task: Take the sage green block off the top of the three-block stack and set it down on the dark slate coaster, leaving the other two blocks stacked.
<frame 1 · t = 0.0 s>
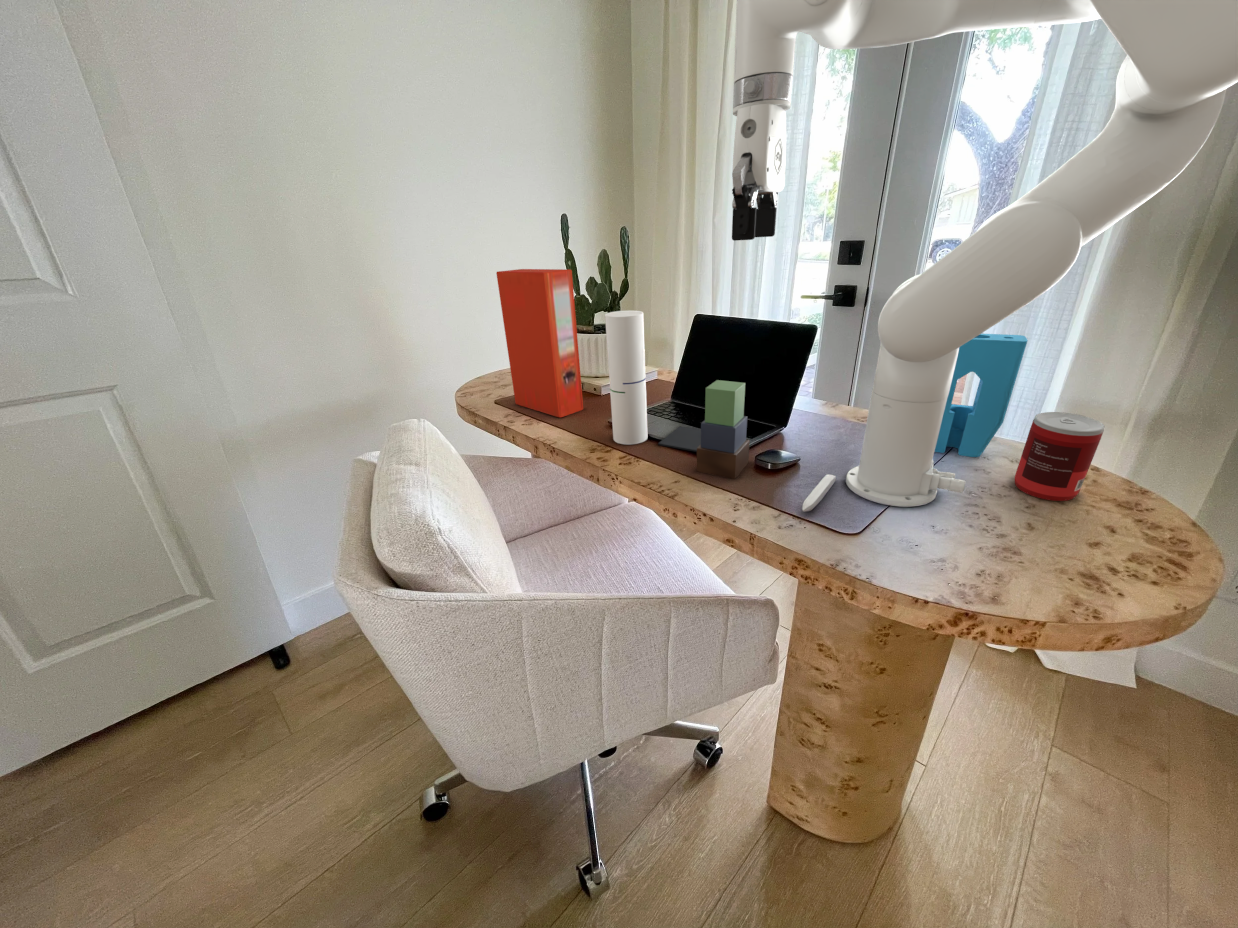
hand: (754, 238, 73), 37 cm above the table, tool pointing down, fingers open, 9 cm apart
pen: (818, 499, 76), on the table
canned food: (1043, 490, 74), on the table
coaster: (691, 440, 99), on the table
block: (950, 449, 88), on the table
cylindrical container: (630, 438, 102), on the table
base block: (722, 467, 87), on the table, touching mid block
file binder: (549, 407, 123), on the table
green block: (724, 419, 83), point 9 cm above the table, touching mid block
mid block: (723, 443, 85), point 4 cm above the table, touching base block, green block
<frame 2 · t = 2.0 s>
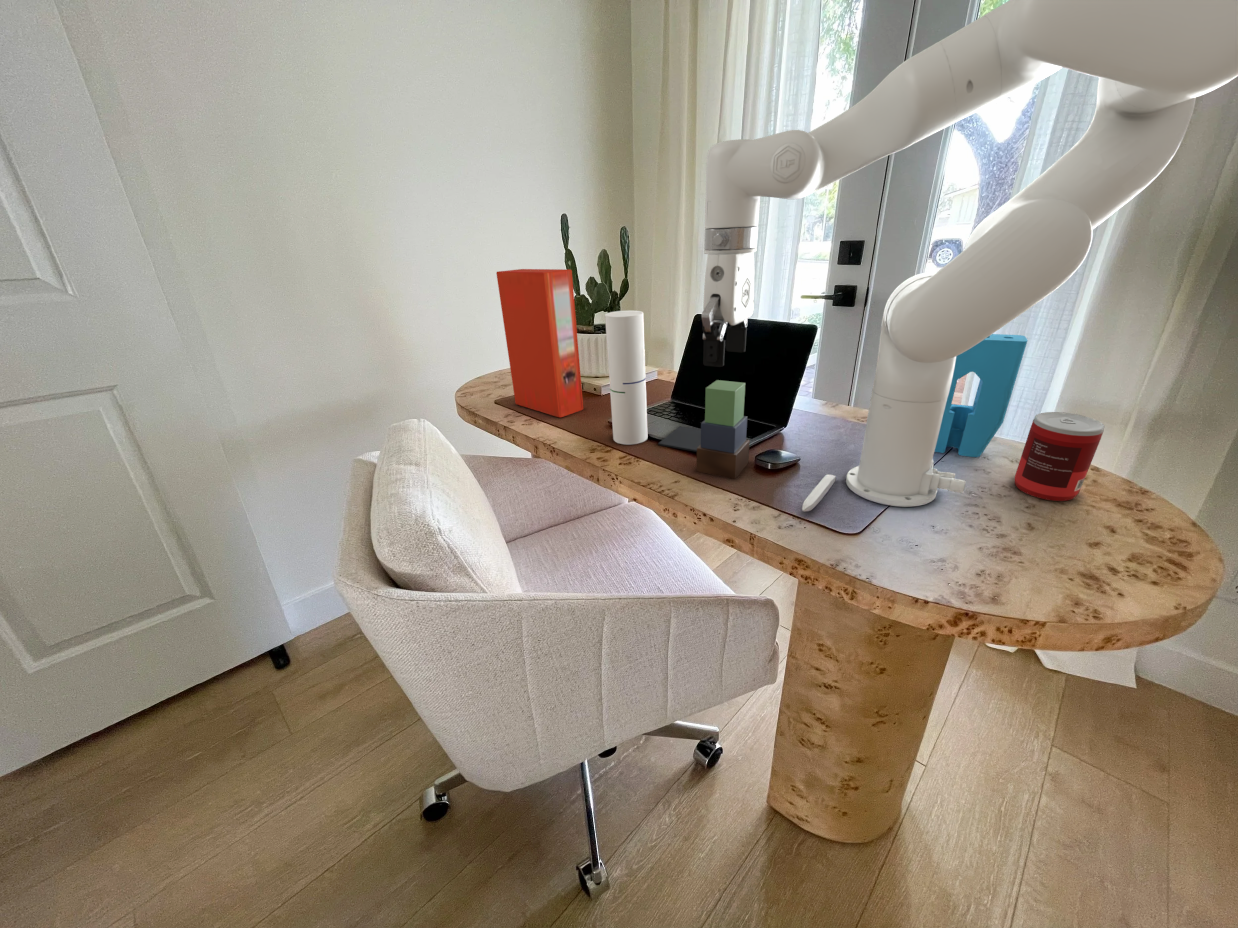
hand: (725, 358, 79), 19 cm above the table, tool pointing down, fingers open, 9 cm apart
nothing on the table moved.
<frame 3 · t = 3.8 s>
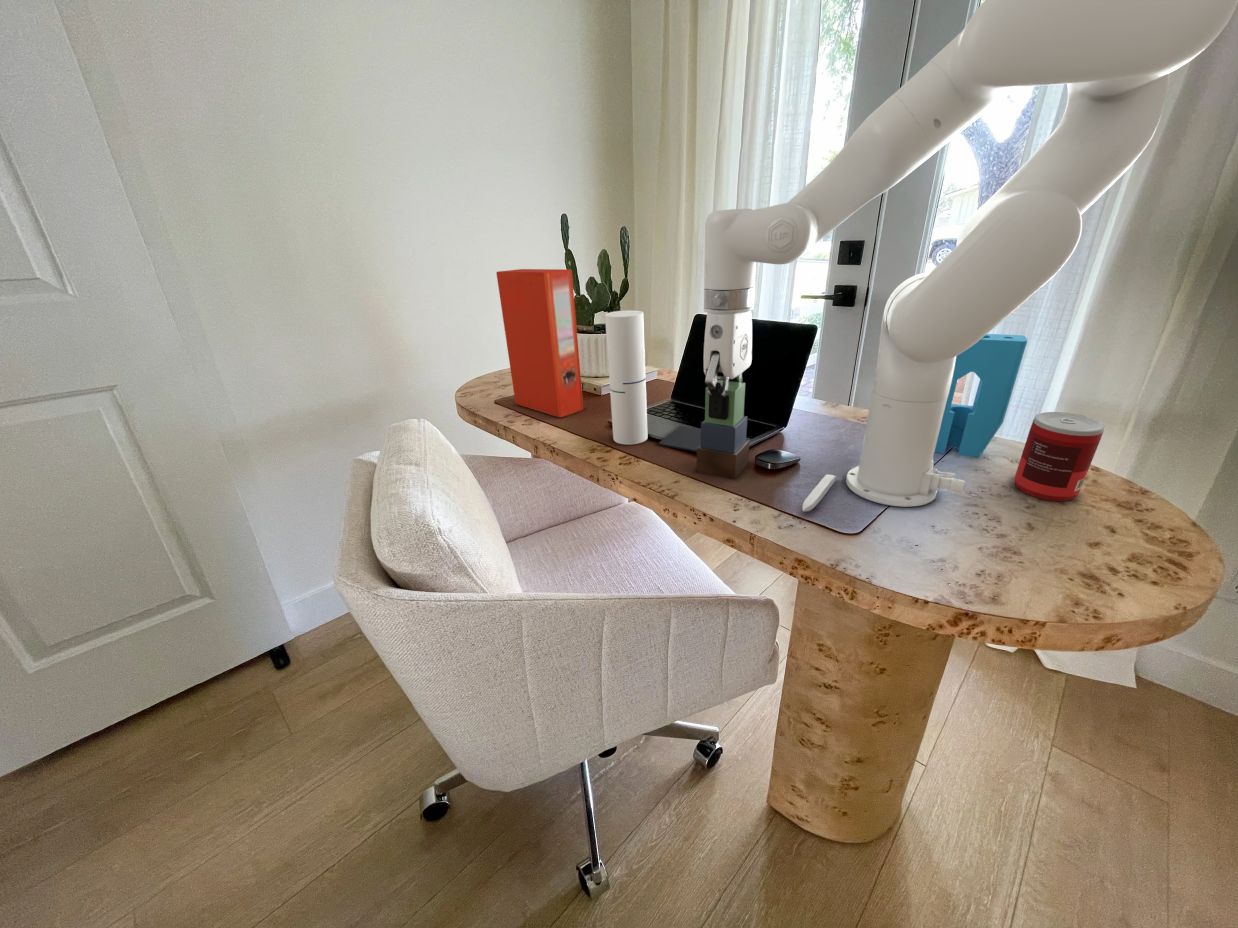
hand: (724, 411, 82), 10 cm above the table, tool pointing down, fingers closed on green block, 5 cm apart
green block: (724, 419, 83), point 9 cm above the table, touching gripper, mid block
everything else where it was.
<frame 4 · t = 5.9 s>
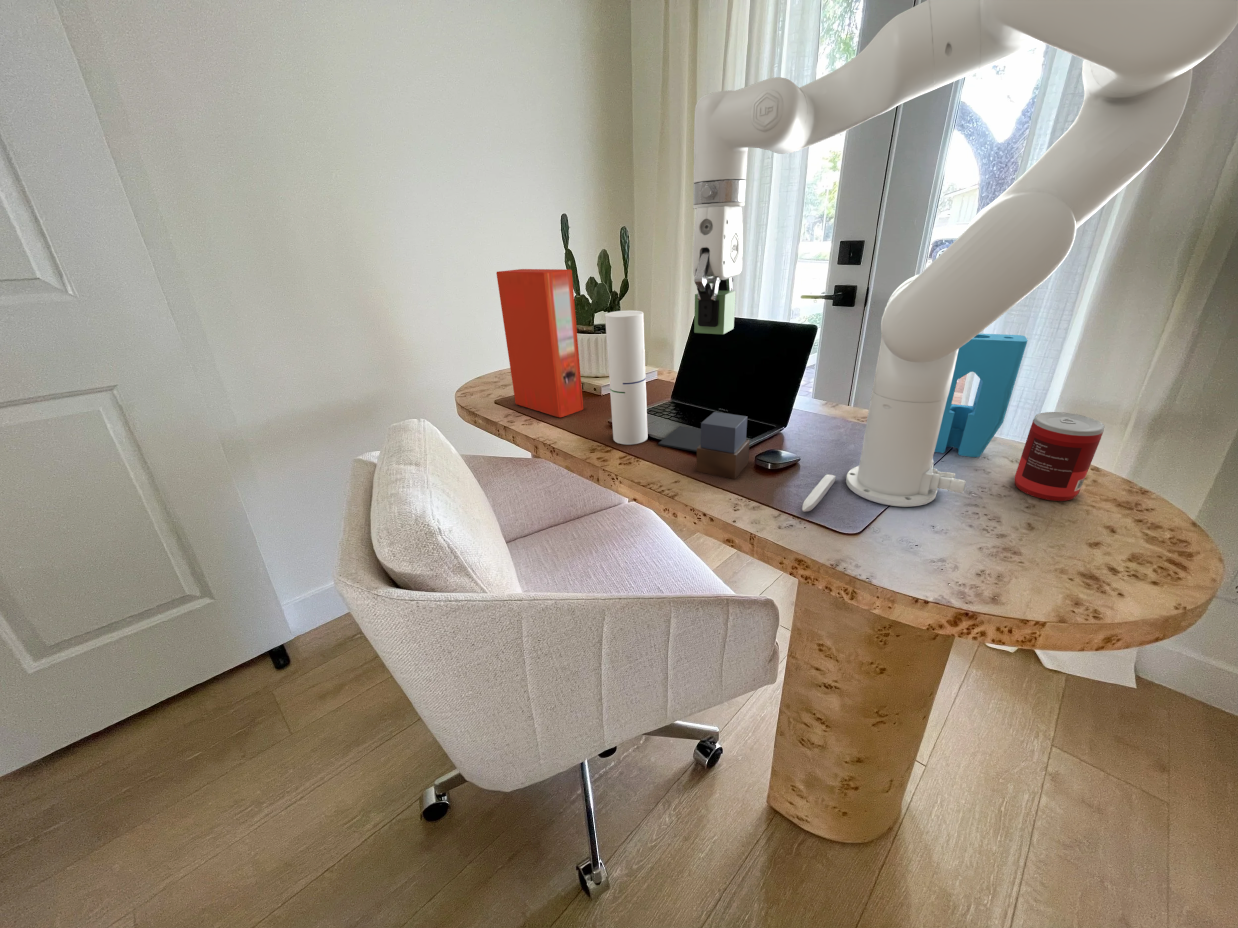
hand: (714, 321, 80), 25 cm above the table, tool pointing down, fingers closed on green block, 5 cm apart
green block: (714, 330, 81), point 23 cm above the table, touching gripper
mid block: (723, 443, 85), point 4 cm above the table, touching base block
everything else where it was.
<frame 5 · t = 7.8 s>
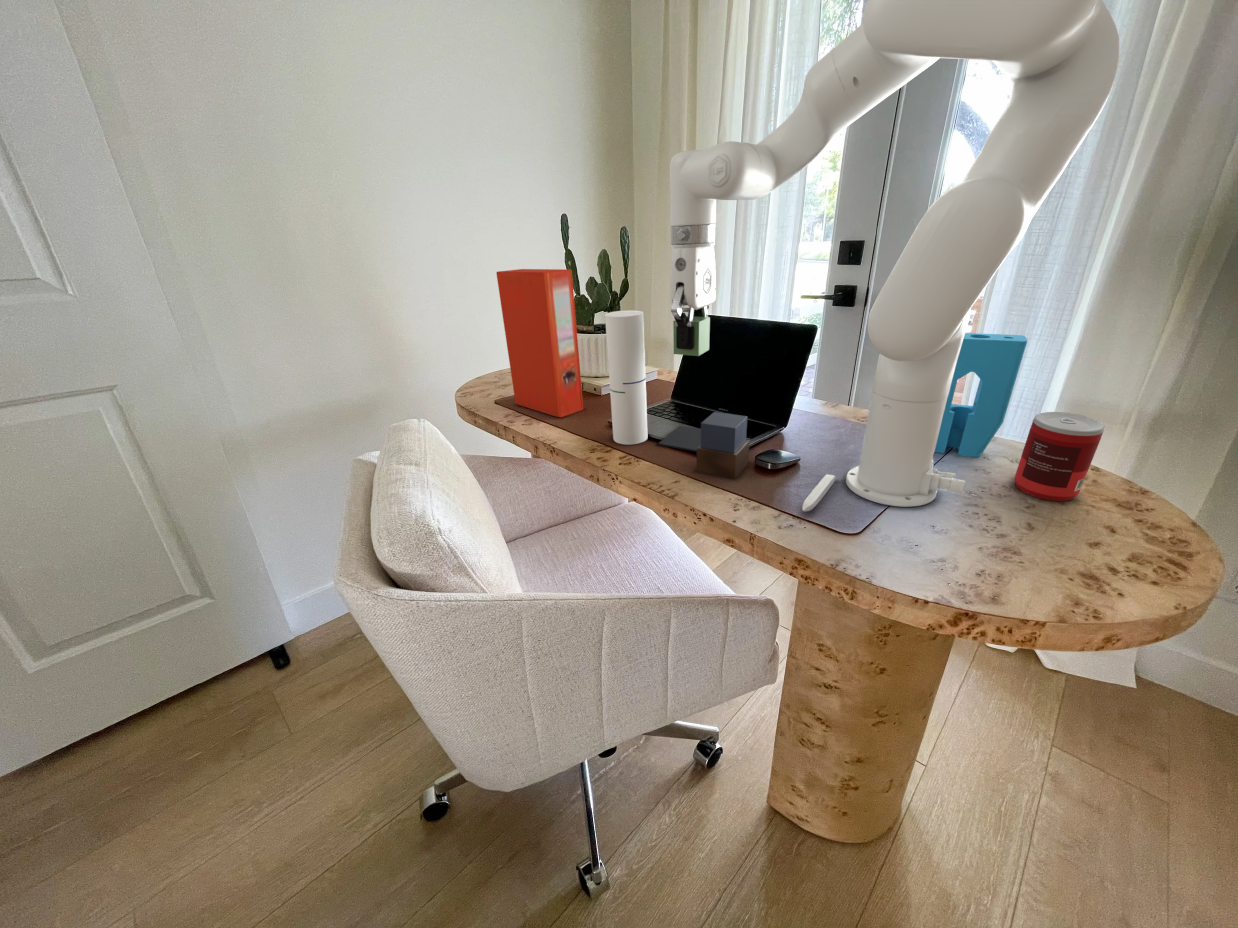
hand: (691, 344, 90), 19 cm above the table, tool pointing down, fingers closed on green block, 5 cm apart
green block: (691, 352, 91), point 18 cm above the table, touching gripper
everything else where it was.
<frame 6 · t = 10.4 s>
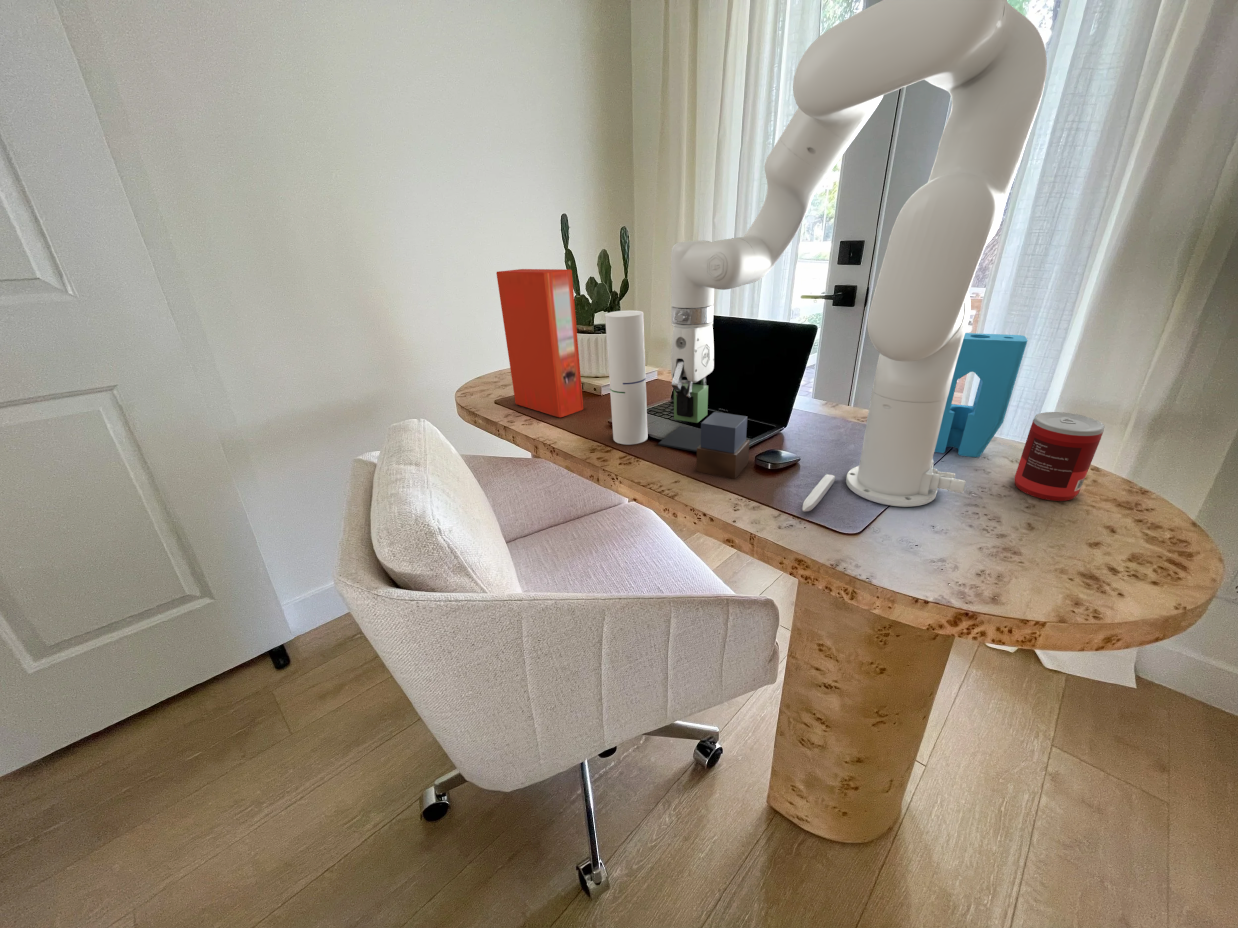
hand: (691, 410, 96), 6 cm above the table, tool pointing down, fingers closed on green block, 5 cm apart
green block: (690, 417, 97), point 5 cm above the table, touching gripper
everything else where it was.
when the fingers open (2 cm above the table, at t = 11.9 s): green block stays where it is, resting on coaster.
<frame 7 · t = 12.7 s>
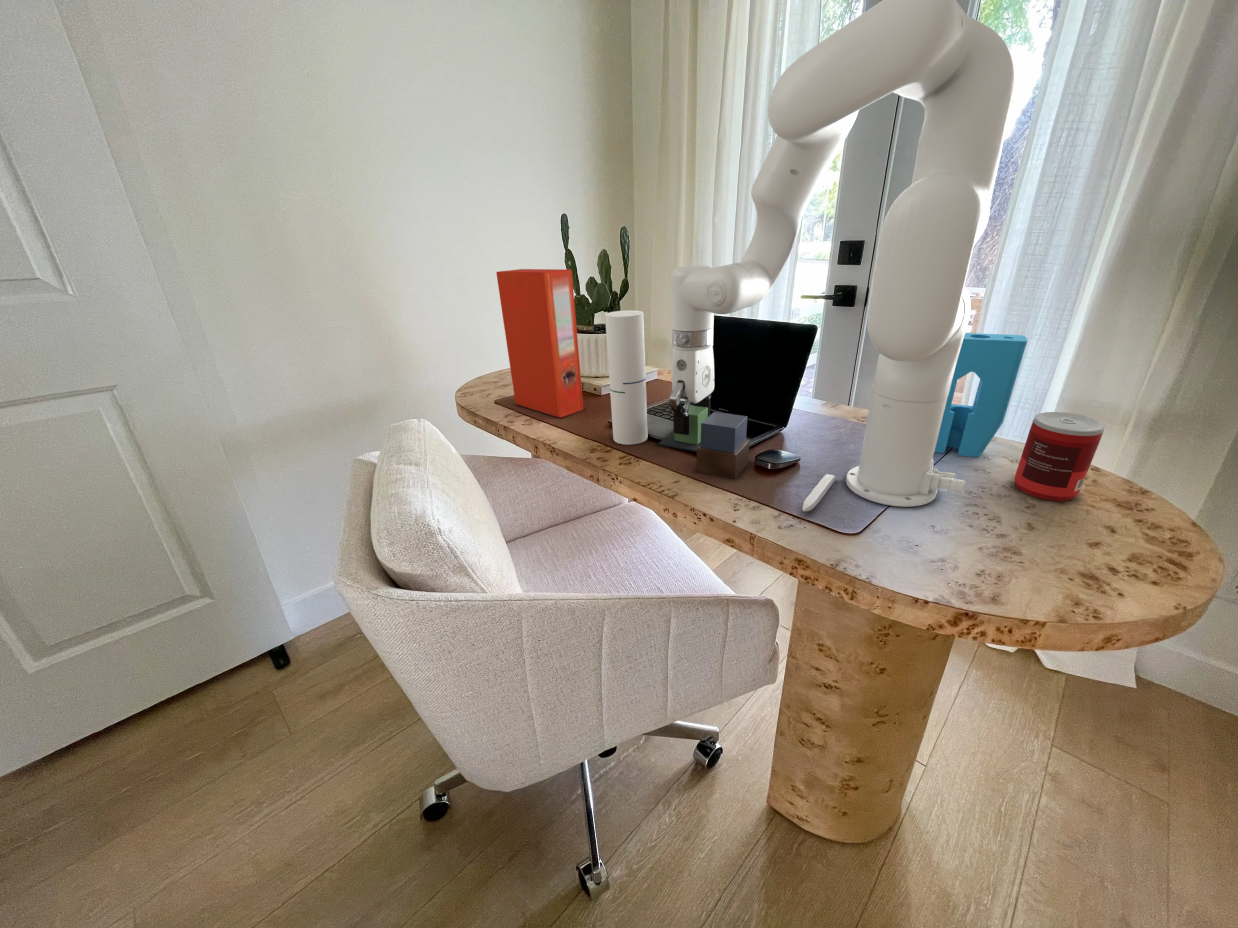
hand: (692, 425, 97), 3 cm above the table, tool pointing down, fingers open, 9 cm apart
green block: (691, 438, 99), resting on coaster
everything else where it was.
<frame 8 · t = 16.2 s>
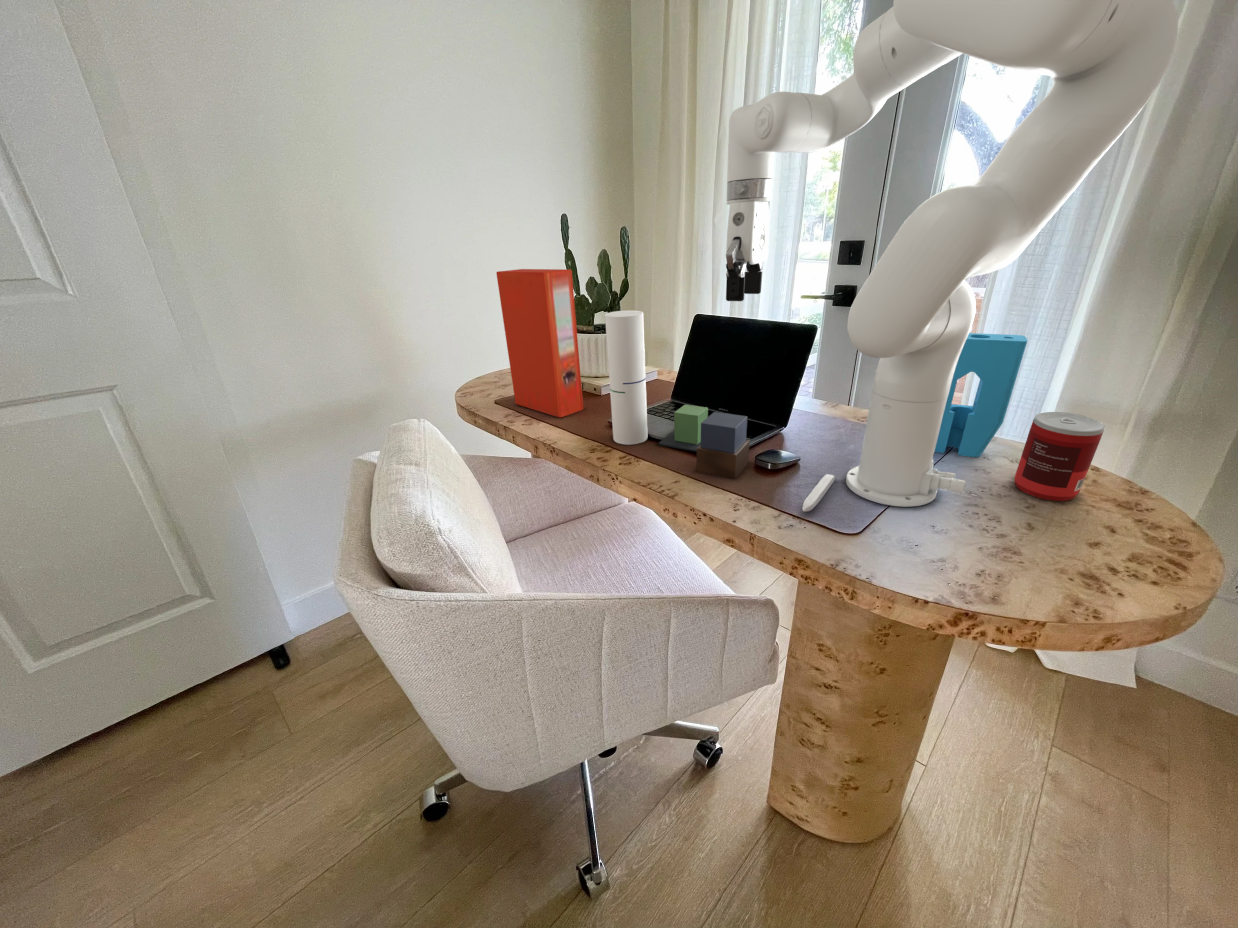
hand: (743, 297, 92), 26 cm above the table, tool pointing down, fingers open, 9 cm apart
nothing on the table moved.
at the end: green block inside the target area on the coaster (0.1 cm from its centre), point 0.4 cm above the coaster's base; green block tilted 0°; mid block point 4.5 cm above the table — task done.
